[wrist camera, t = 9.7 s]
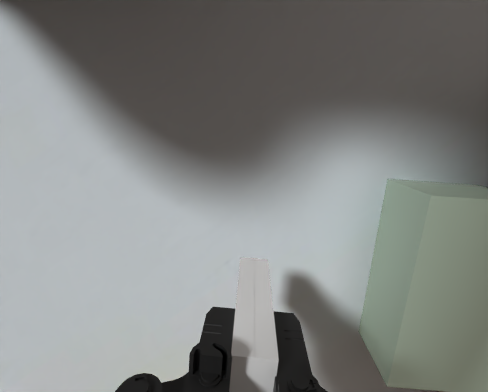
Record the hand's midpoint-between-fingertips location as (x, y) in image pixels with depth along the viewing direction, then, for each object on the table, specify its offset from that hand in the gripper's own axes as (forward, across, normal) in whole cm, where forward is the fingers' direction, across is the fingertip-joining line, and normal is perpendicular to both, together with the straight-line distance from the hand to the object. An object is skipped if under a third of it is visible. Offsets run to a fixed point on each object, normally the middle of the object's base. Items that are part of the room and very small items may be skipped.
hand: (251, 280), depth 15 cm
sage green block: (+5, +12, -1) cm, 13 cm away
